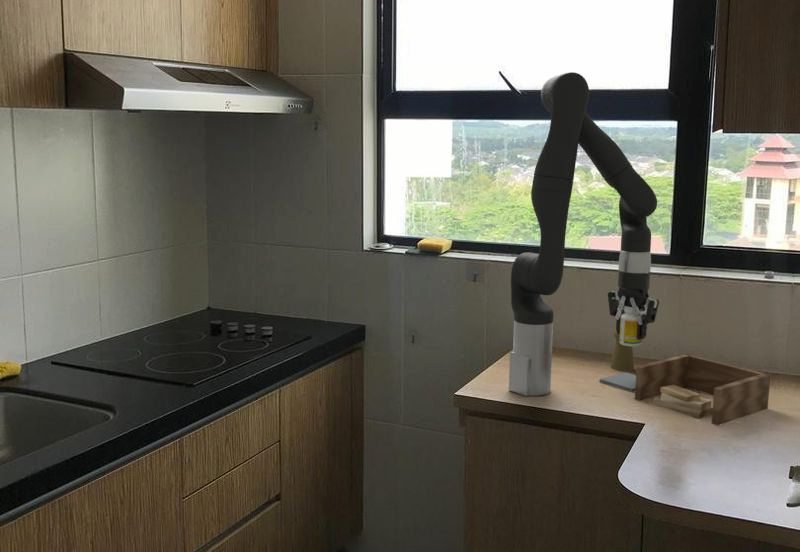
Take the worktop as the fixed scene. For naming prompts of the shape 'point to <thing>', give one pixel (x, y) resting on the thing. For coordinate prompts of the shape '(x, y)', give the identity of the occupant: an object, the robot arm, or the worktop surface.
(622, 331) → the supplement bottle
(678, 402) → the offcut stack
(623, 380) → the slate mat
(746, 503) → the worktop surface
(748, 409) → the walnut open frame
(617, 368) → the cork
